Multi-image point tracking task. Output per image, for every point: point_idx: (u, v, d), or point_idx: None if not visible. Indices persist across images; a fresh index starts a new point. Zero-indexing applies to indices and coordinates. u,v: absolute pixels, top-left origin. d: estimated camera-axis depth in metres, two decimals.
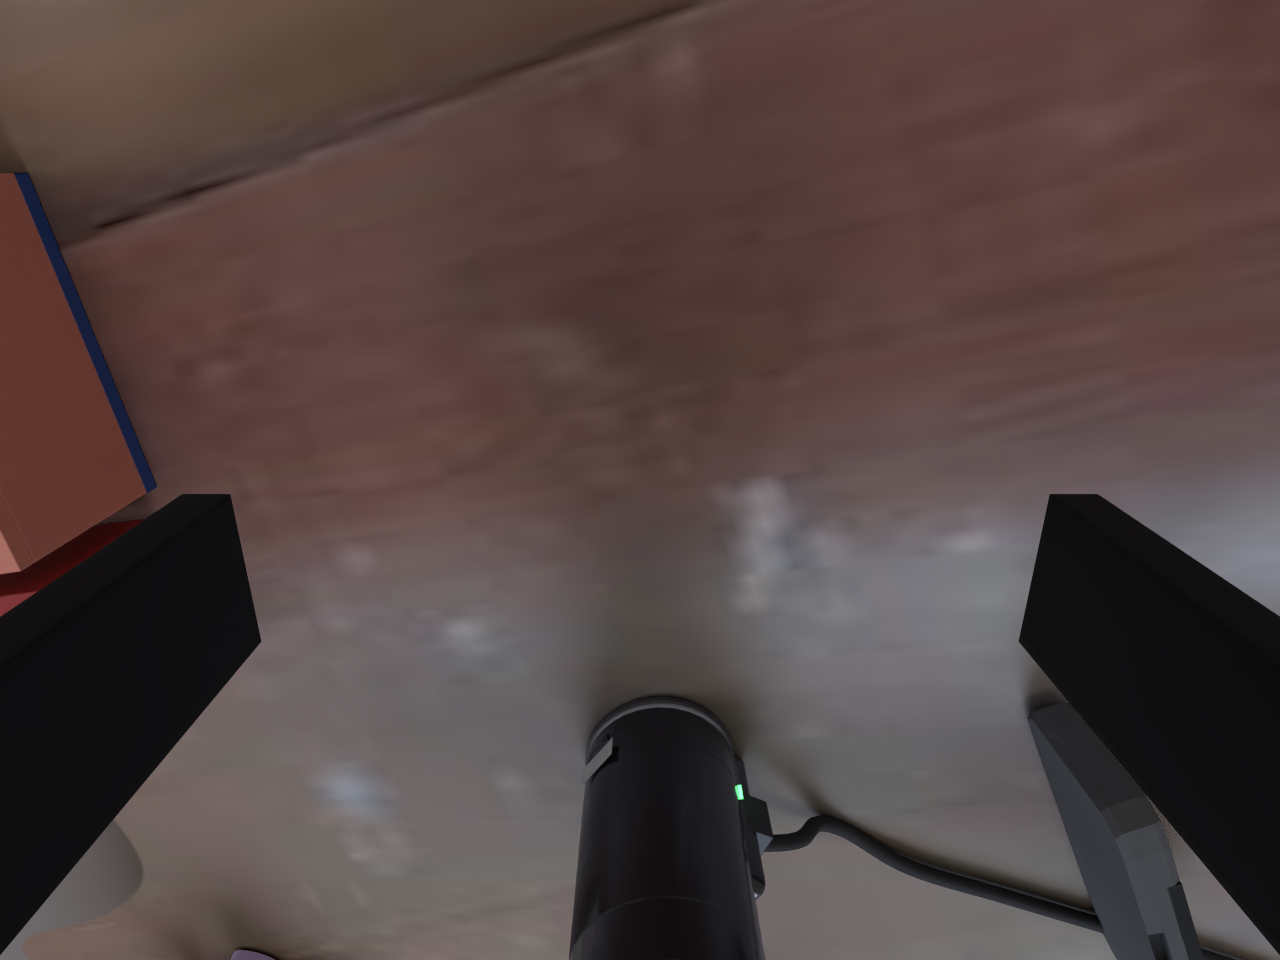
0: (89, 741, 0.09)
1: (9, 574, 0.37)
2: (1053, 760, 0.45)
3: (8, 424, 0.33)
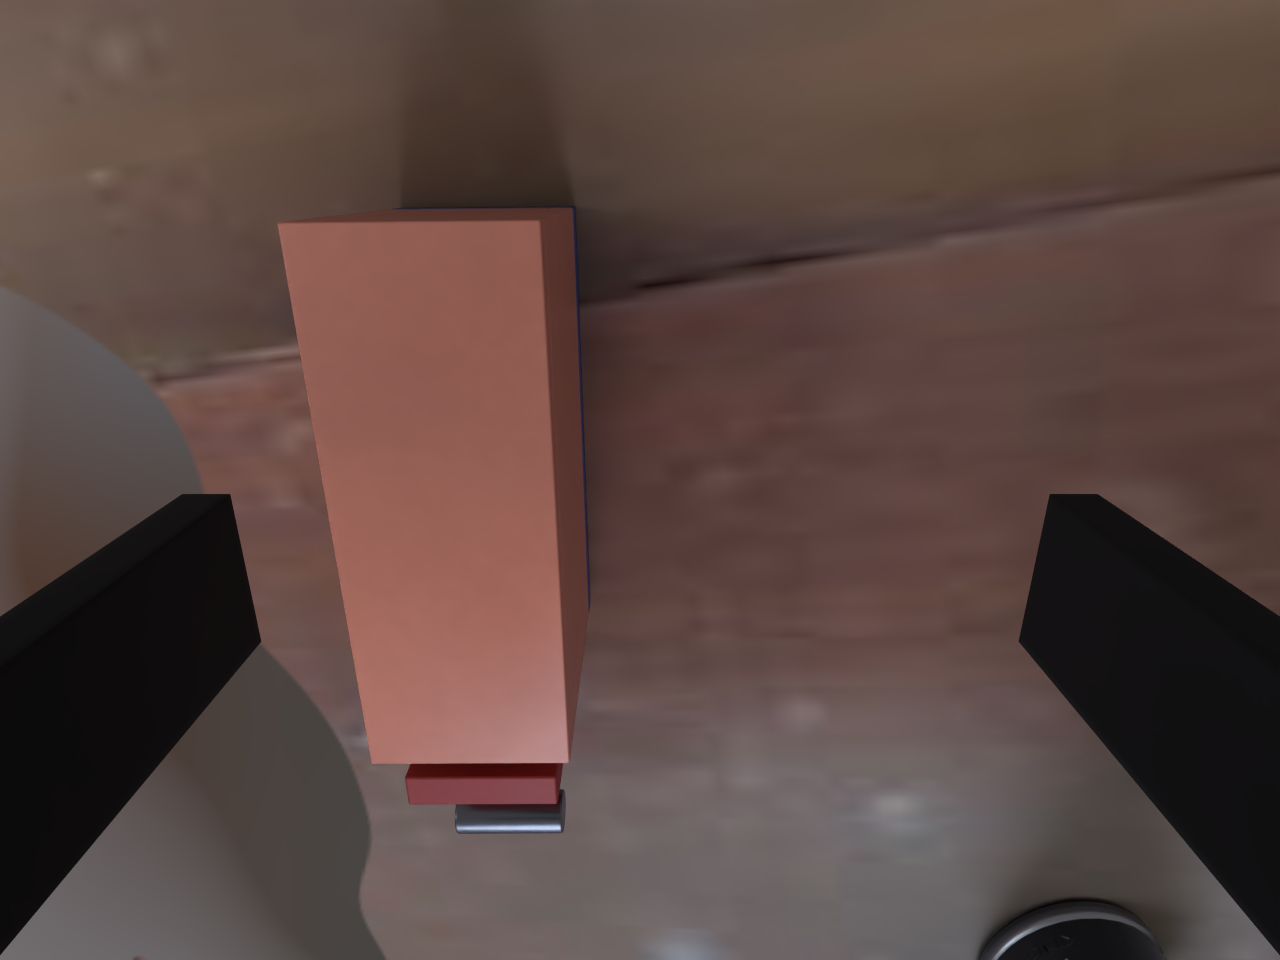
0: (90, 741, 0.09)
1: None
2: None
3: (569, 558, 0.24)
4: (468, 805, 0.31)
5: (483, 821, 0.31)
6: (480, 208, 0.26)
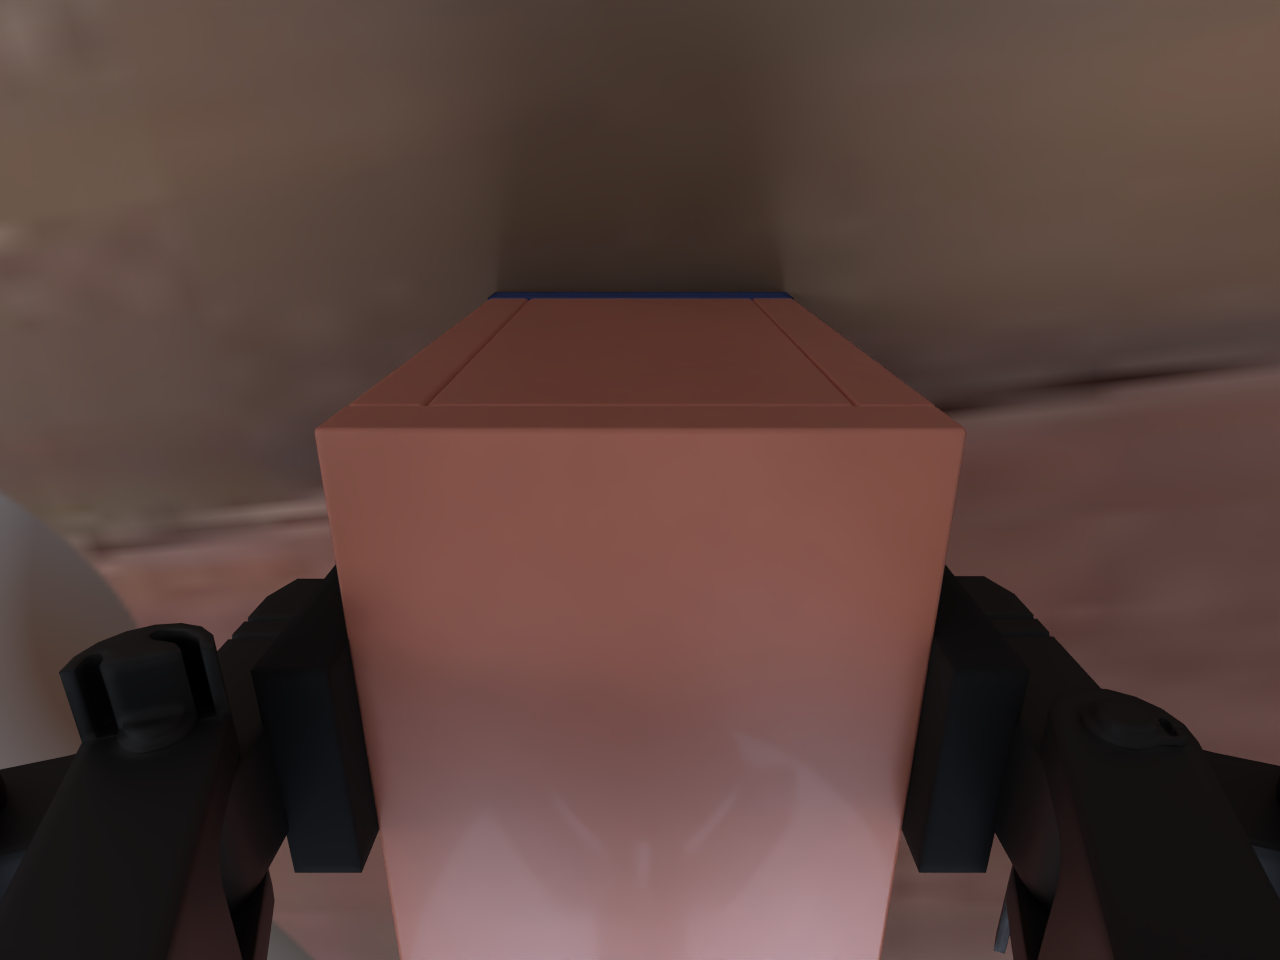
0: None
1: None
2: None
3: None
4: None
5: None
6: (637, 298, 0.16)
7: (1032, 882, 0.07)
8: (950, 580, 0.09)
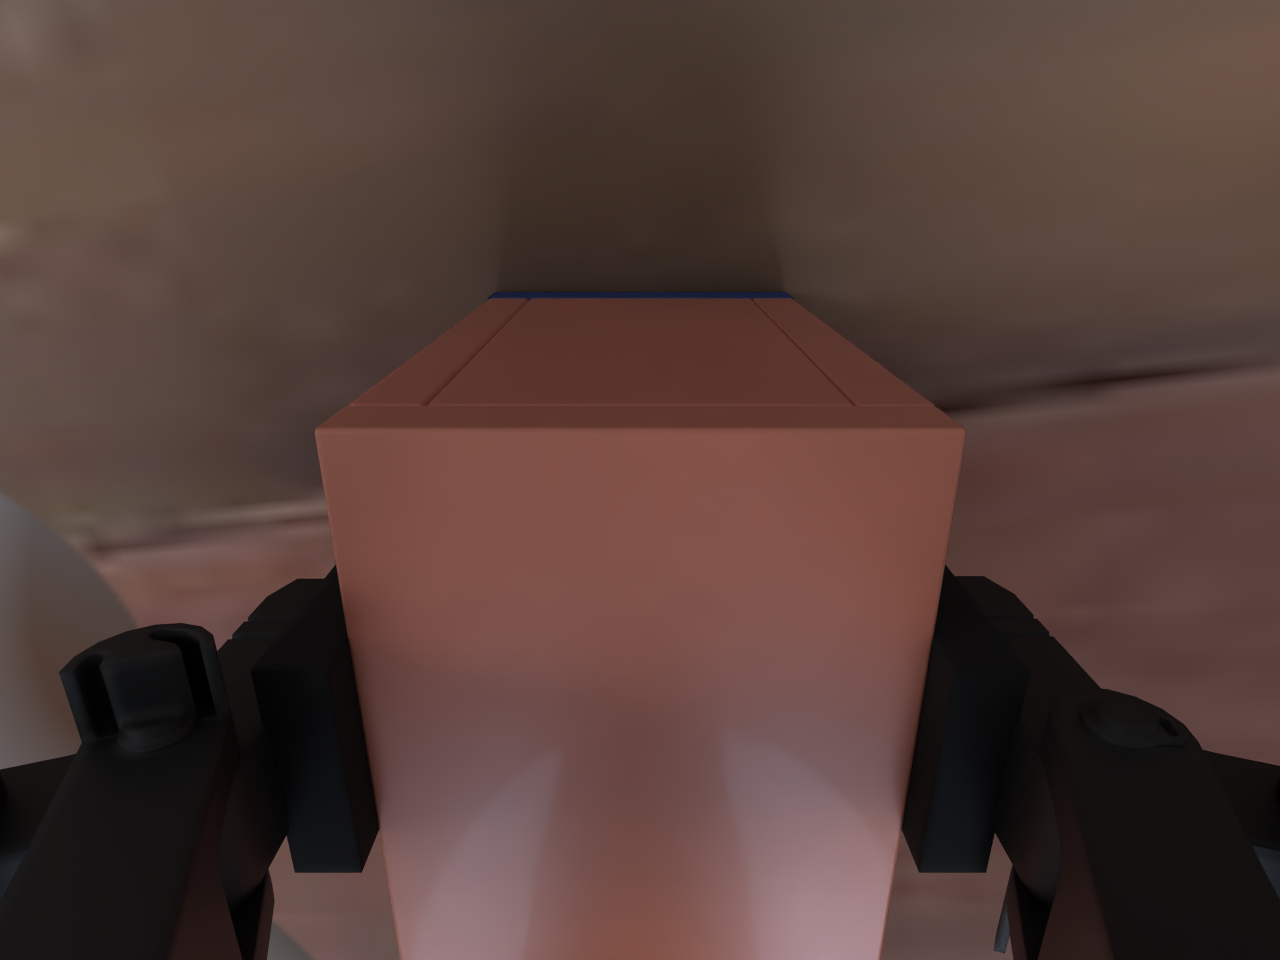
0: None
1: None
2: None
3: None
4: None
5: None
6: (637, 298, 0.16)
7: (1032, 882, 0.07)
8: (951, 580, 0.09)
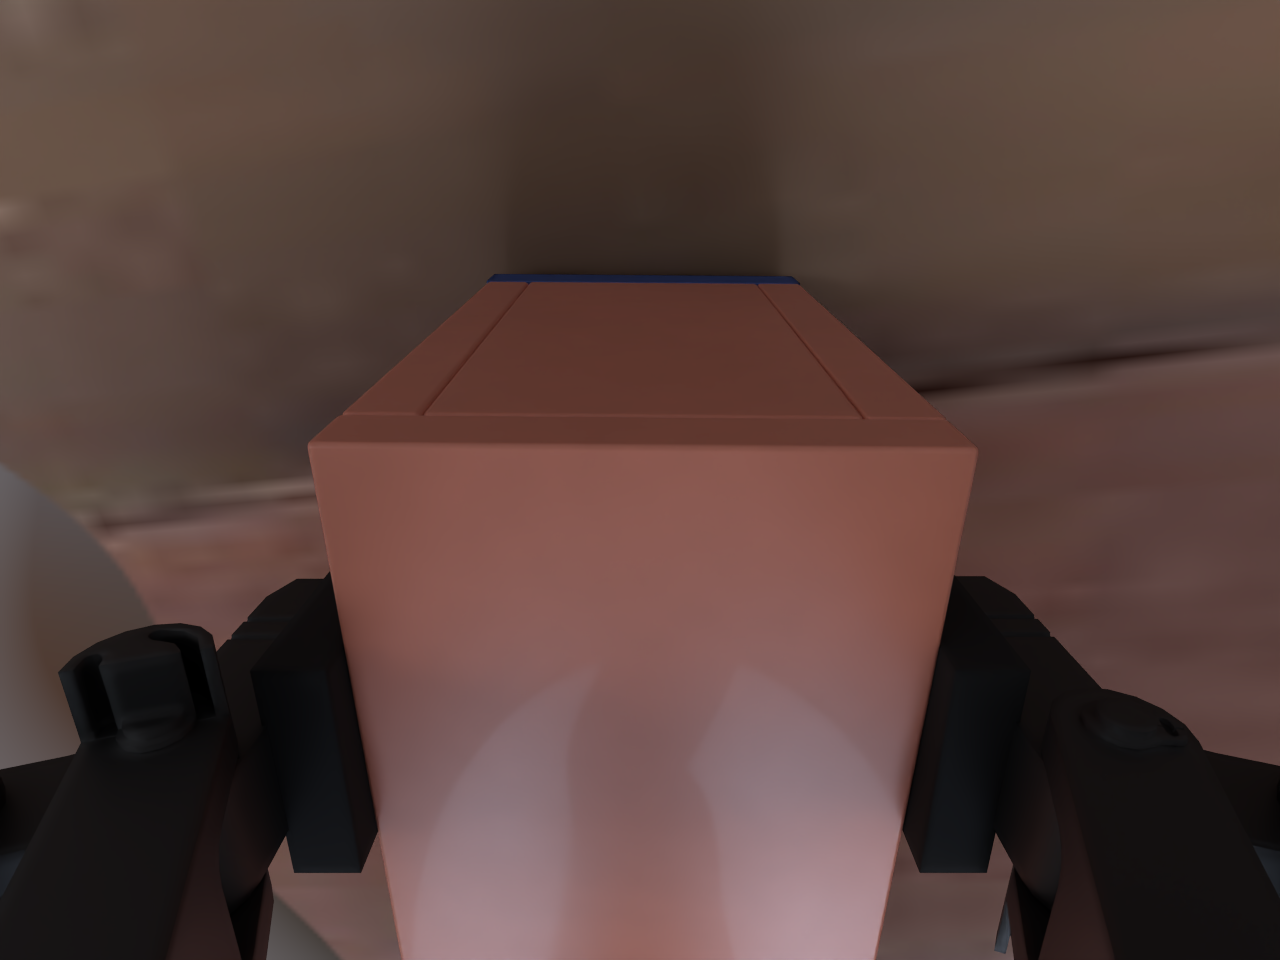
0: None
1: None
2: None
3: None
4: None
5: None
6: (640, 282, 0.15)
7: (1032, 882, 0.07)
8: None
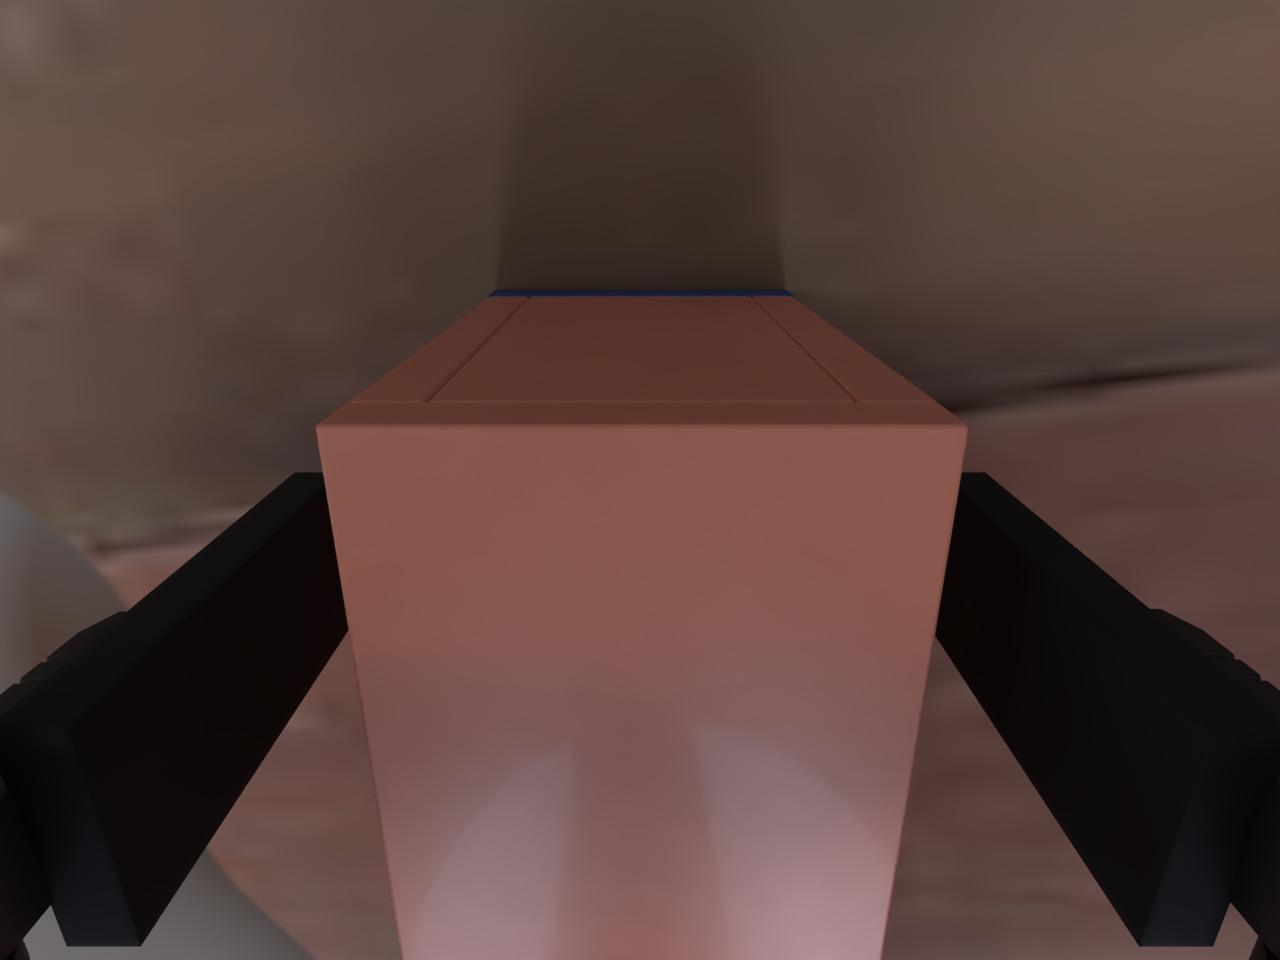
0: (245, 689, 0.10)
1: None
2: None
3: None
4: None
5: None
6: (637, 296, 0.16)
7: None
8: (1153, 618, 0.08)
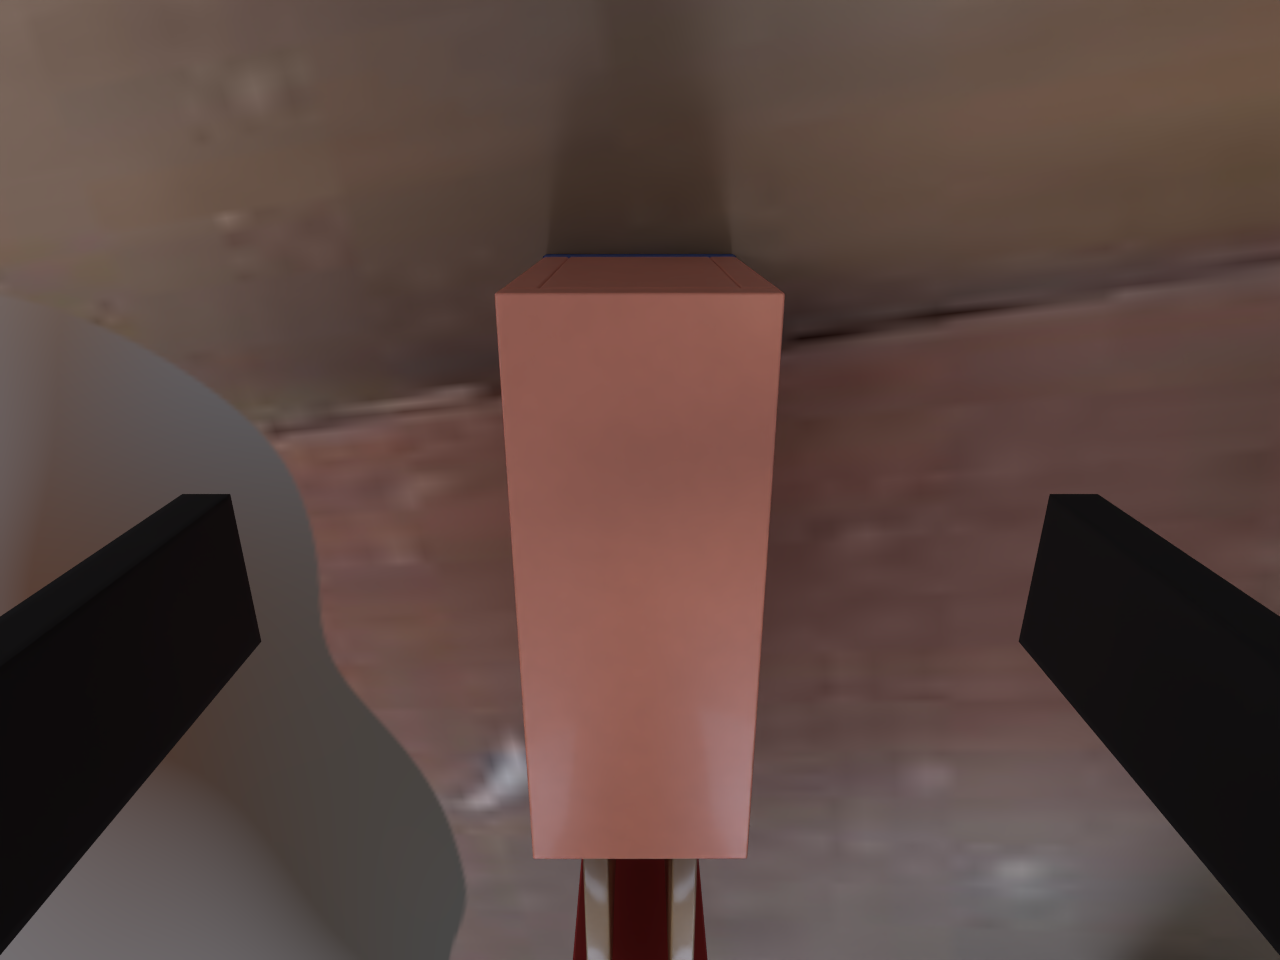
0: (89, 741, 0.09)
1: None
2: None
3: None
4: None
5: None
6: (637, 256, 0.25)
7: None
8: None
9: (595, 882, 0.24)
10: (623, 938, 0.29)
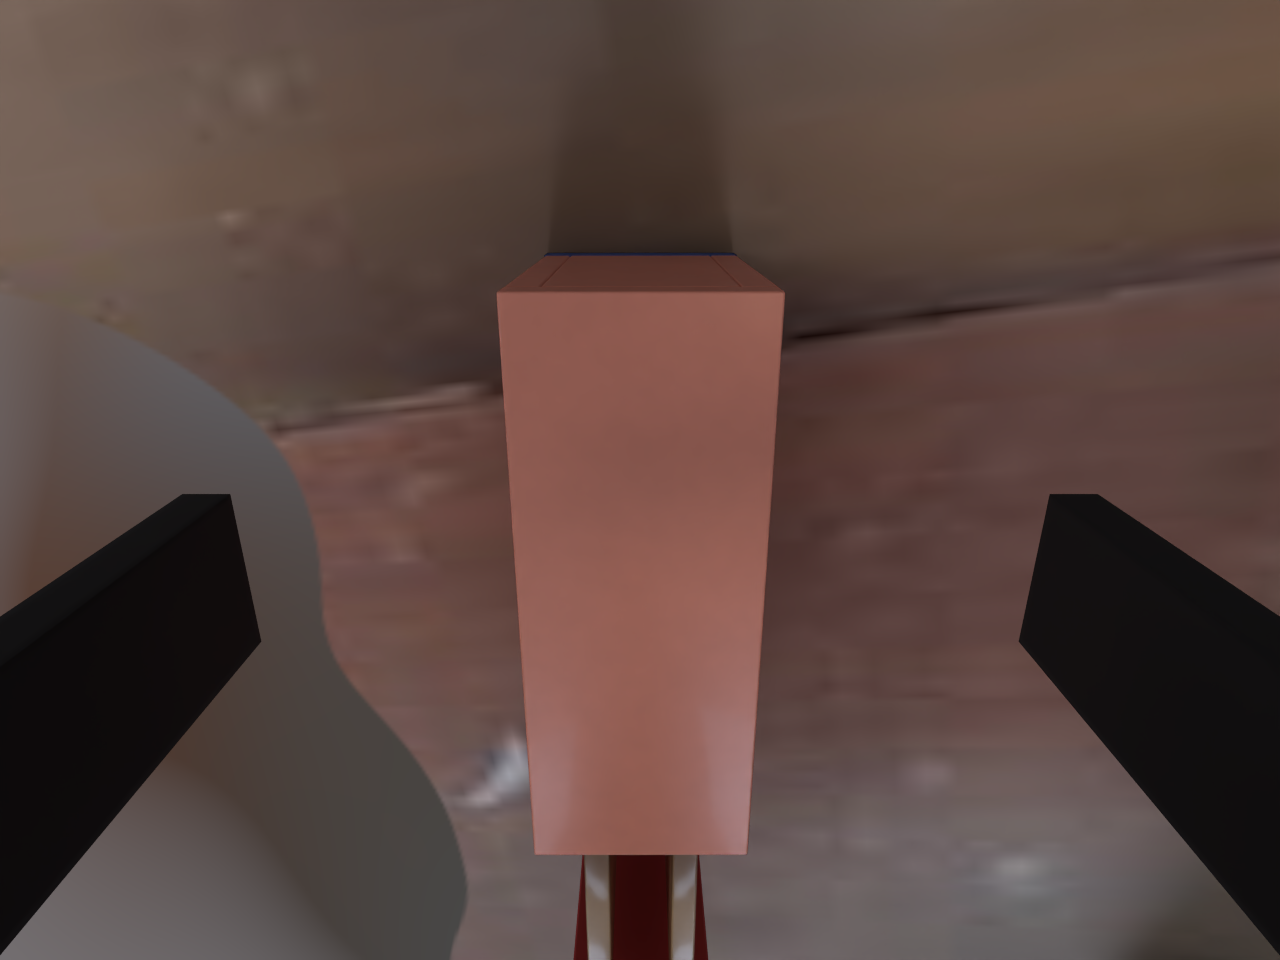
0: (88, 741, 0.09)
1: (618, 956, 0.29)
2: None
3: None
4: None
5: None
6: (638, 255, 0.25)
7: None
8: None
9: (596, 878, 0.24)
10: (624, 934, 0.30)
